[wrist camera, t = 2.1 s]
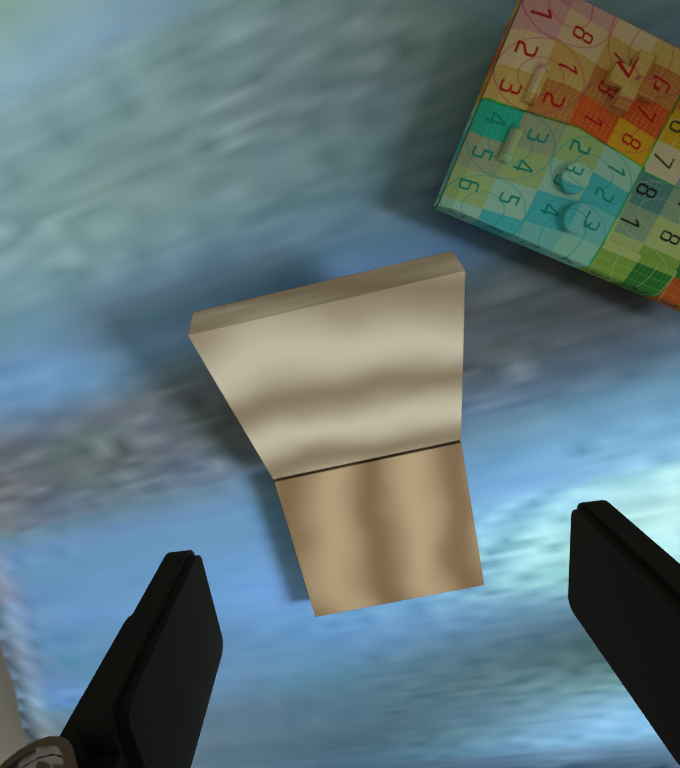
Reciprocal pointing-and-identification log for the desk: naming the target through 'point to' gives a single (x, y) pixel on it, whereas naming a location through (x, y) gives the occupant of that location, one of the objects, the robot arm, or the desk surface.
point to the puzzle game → (577, 147)
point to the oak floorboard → (383, 528)
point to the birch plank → (343, 364)
